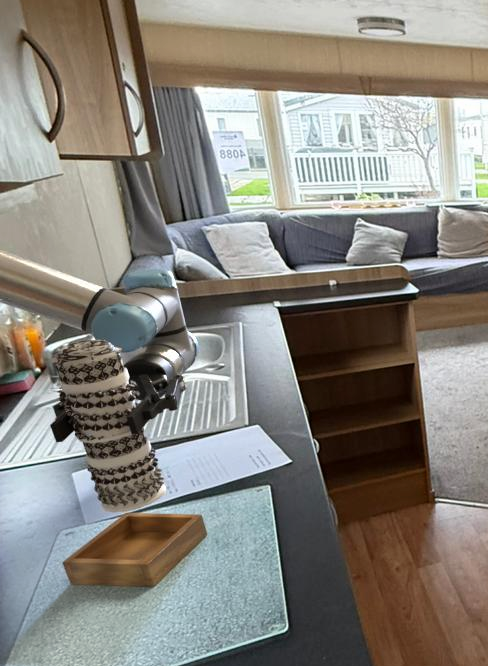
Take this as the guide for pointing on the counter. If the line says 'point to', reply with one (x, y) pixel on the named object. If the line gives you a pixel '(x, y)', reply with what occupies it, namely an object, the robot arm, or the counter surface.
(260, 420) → the counter surface
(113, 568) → the tray
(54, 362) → the decorative candle
